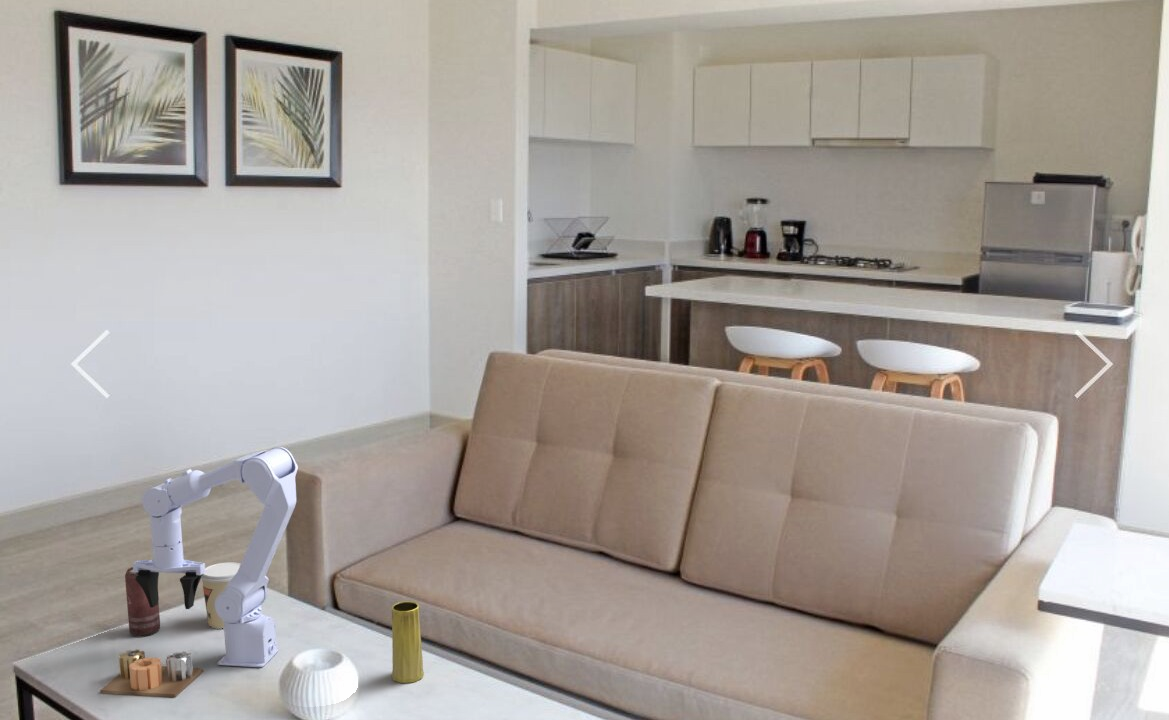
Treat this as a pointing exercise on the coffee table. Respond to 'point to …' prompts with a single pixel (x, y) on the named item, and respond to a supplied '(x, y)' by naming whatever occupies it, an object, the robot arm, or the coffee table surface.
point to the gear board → (163, 690)
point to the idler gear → (145, 673)
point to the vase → (406, 643)
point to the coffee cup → (216, 588)
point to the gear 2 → (179, 666)
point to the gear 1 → (128, 661)
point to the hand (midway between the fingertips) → (171, 606)
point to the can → (140, 608)
